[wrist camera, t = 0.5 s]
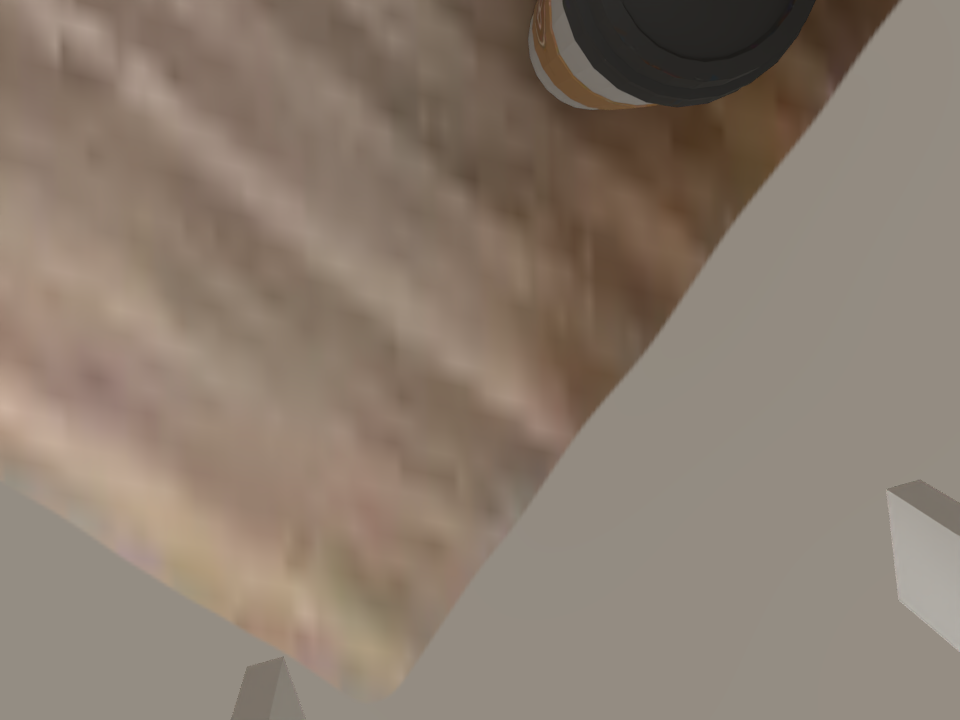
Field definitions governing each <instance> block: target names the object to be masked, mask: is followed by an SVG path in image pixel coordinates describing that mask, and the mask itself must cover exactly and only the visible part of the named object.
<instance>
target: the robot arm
mask: <svg viewBox="0 0 960 720" xmlns="http://www.w3.org/2000/svg"><path fill="white" fill-rule="evenodd" d="M886 492H887V501H888V510H889V519H890V528H891V537H892V546H893V555H894V563H895V572H896V580H897V590H898V599H899V601H900V602H901V603H903V604H904V605H905V606H906V607H907V608H909V609H910V610H911V611H912V612H913V613H914V614H916V615H917V616H918V617H919V618H920V619H922V620H923V621H924V622H925V623H926V624H927V625H929V626H930V627H931V628H932V629H933V630H935V631H936V632H937V633H938V634H939V635H940V636H942V637H943V638H944V639H945V640H946V641H947V642H948V643H950V644H951V645H952V646H953V647H954V648H956V649H957V650H958V651H959V652H960V503H959V502H957V501H956V500H954V499H952V498H950V497H949V496H947V495H945V494H943V493H942V492H940V491H939V490H937V489H935V488H933V487H932V486H930V485H928V484H926V483H925V482H923V481H921V480H917V481H913V482H910V483H906V484H902V485H899V486H895V487H892V488H888V489H886ZM231 720H306V718H305V715H304V712H303V710H302V707H301V704H300V701H299V698H298V696H297V693H296V690H295V687H294V684H293V682H292V679H291V676H290V673H289V671H288V668H287V665H286V662H285V660H284V657H281V658H277V659H274V660H270V661H266V662H263V663H259V664H256V665H252V666H249V667H247V669H246V672H245V675H244V679H243V682H242V685H241V688H240V692H239V695H238V698H237V702H236V705H235V708H234V712H233V715H232V718H231Z"/></svg>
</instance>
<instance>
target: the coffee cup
mask: <svg viewBox="0 0 960 720" xmlns="http://www.w3.org/2000/svg"><path fill="white" fill-rule="evenodd" d="M815 1H816V0H538V1H537V3H536V6H535V8H534V14H533V16H532V19H531V23H530V30H529V37H528V42H529V52H530V59H531V62H532V64H533V67H534V70H535V72H536V75H537V76H538V78H539V79H540V81H541V82H542V84H543V85H544V86H545V88H546V89H547V90H548V91H549V92H550V93H551V94H553V95H554V96H555V97H556V98H557V99H559V100H560V101H562V102H564V103H566V104H569V105H571V106H573V107H575V108H582V109H588V110H596V109H603V110H617V109H628V108H639V107H647V106H654V105H665V106H672V107H683V106H691V105H699V104H706V103H710V102H712V101H714V100H717V99H719V98H721V97H724V96H726V95H729V94H731V93H733V92H736V91H738V90H739V89H740V88H741V87H743V86H745V85H748V84H750V83H751V82H753V81H754V80H755V79H756V78H758V77H759V76H760V75H762V74H763V73H764V72H765V71H767V70H768V69H769V68H771V67H772V66H773V65H774V64H776V63H777V62H778V61H779V59H780V58H781V57H782V55H783V54H784V53H785V52H786V50H787V49H788V48H789V46H790V45H791V44H792V43H793V41H794V40H795V39H796V38H797V36H798V35H799V33H800V30H801V28H802V26H803V24H804V23H805V22H806V20H807V18H808V16H809V14H810V11H811V9H812V7H813V5H814V3H815Z"/></svg>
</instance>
